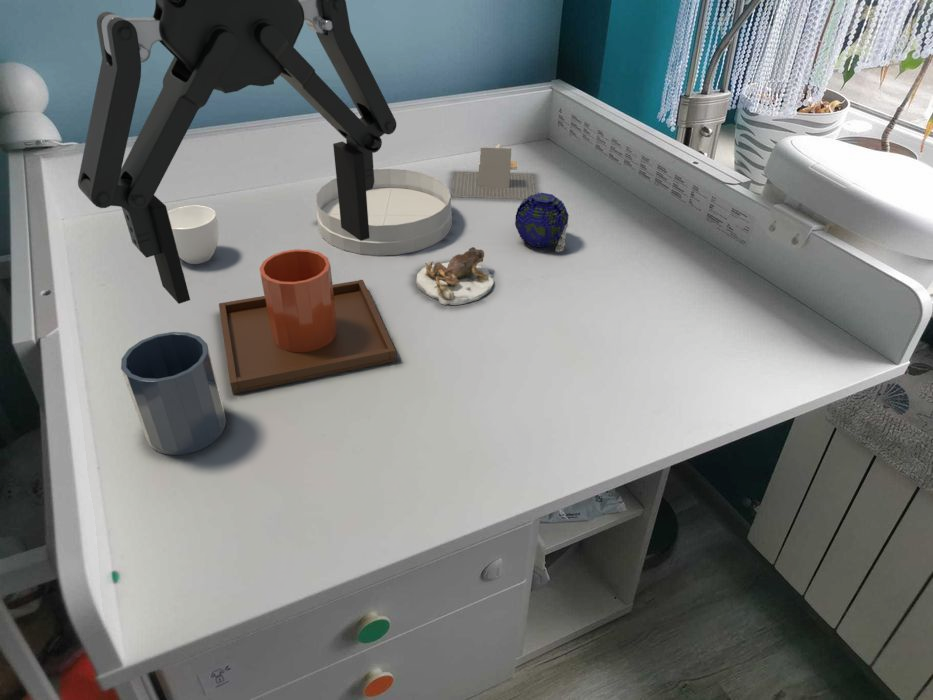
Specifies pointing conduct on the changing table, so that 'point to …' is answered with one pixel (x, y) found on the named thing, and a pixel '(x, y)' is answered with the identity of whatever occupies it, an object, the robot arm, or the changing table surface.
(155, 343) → the slate cup
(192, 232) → the cup
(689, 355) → the changing table surface
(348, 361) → the tray
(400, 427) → the changing table surface
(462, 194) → the architectural model
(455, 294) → the frog figurine
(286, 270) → the terracotta cup
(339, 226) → the dish
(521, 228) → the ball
